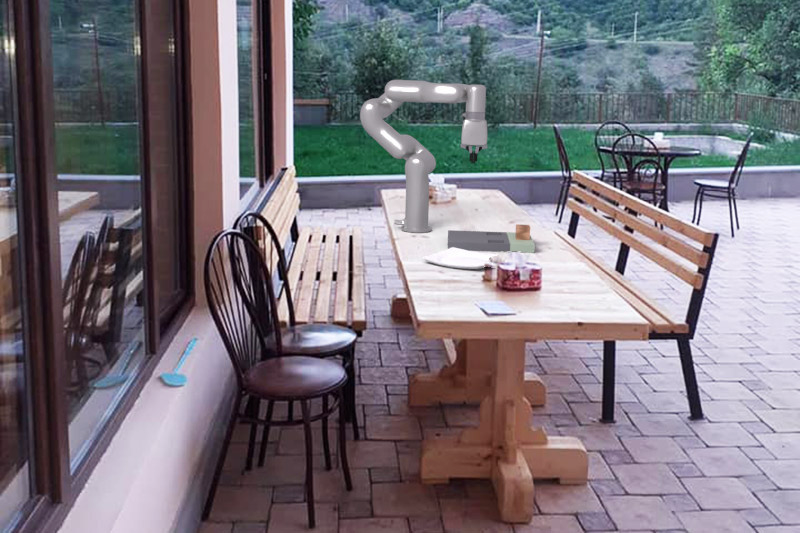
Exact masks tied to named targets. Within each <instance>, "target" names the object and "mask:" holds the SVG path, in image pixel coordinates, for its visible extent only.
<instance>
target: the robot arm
mask: <svg viewBox="0 0 800 533" xmlns="http://www.w3.org/2000/svg"><path fill="white" fill-rule="evenodd" d="M486 93H487V87H486V86H485V85H483V84H464V83H459V82H458V83H457V82H456V83H455V82H454V83H443V82H442V83H439V82H437V83H436V82H429V81H427V80H414V79H413V80H412V79H411V80H409V79H407V80H405V79H392V80H390V81H388V82H387V83H386V85H385V86H384V93H383V94H381V95H380V96H379V97H377V98H371V99H370V98H369V99H368V100H366V101H365V102H363V104H362V106H361V108H360V114H359V117H360V122H361V125H362V127H363V129H364V130H365V132H366V133H367V134H368V135H369V136H370V137H372V139H374V141H376V142H377V143H378V144H379V145H380V146H381V147H382V148H383V149H384V150H385V151H387V153H388V154H389V155H390V156H391V157H393V158H394V159H396V160H402V159H404V160H405V165H404V173H405V212H404V215H405V217H404V219H394V221H393V222H394V225H396V226H397V225H398V226H400V227H401V228H400V230H401V231H403V232H407V233H418V234H419V233H422V234H423V233H428V232H432V230H433V228H432V227H431V226H429V212H430V211H429V210H430V209H429V207H430V203H429V202H430V179H429V174H431V173H432V172H433V171H434V170H435V168H436V166H437V163H436V158H435V156H434V155H433V154H432V153H431V152H430V150H428V149H427V148H426V147H425V146H424V145H422V144H421V143H420V141H418V140H417V139H416V137H415V138H414V137H413V136H411V135H409V134H401V133H399V132H398V131H397V130H396V129H394V128H393V126H391V125H390V124H388V123H387V122H386V121H385V120H384V119H385V118H387V117H389V116H390V115H391V114H393V113H394V112H395V110H398V109H399V107H400V106H401V105H402V104H404V102H406V103H407V102H408V103H438V104H439V103H441V104H458V103H465V112H463V113H461V117H464V118H465V119H463V121H462V128H461V137H460V138H461V140H460V141H461V142H460V148H461V149H465V150H467V151H468V153H469V162H470V163H471V164H476V162H477V161H478V153H479V152H481V151H482V150H486V149H488V121H487V120H486V119H485V117H486V115H485V114H486ZM473 147H475V150H474V151H473Z"/></svg>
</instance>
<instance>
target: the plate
mask: <svg viewBox="0 0 800 533" xmlns="http://www.w3.org/2000/svg"><path fill="white" fill-rule="evenodd" d="M497 255H500V254H496V253H486V252H481V251H468V250H464V249H459V248H455V247H452V248H449V249H448V248H446V249H444V250H442V251H438V252H436V253H433V254H430V255H425V256H422V257H421V259H422V260H424V261H425V262H428V263H431V264H435V265H437V266H442V267H446V268H452V269H458V270H459V269H460V270H471V269H476V270H483V269H484V268H483V267H484V263H486V261H488V260H489V258H490V257H492V256H497ZM482 268H483V269H482Z"/></svg>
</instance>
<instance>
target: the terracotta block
mask: <svg viewBox="0 0 800 533" xmlns="http://www.w3.org/2000/svg"><path fill="white" fill-rule="evenodd" d="M515 233H516V236H515V237H516V240H530V236H531V226H530V224H517V223H516V224H515Z"/></svg>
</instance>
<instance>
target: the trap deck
mask: <svg viewBox="0 0 800 533" xmlns="http://www.w3.org/2000/svg"><path fill="white" fill-rule="evenodd" d="M515 236H516V232H512V231H511V232H509V231H507V232H505V231H504V232H503V231H480V230H479V231H475V230H449V229H448V230H447V249H449V248H452V247H455V248H459V249H464V250H468V251H474V252H495V253H497V252H499V253H500V252H501V251H521V252H520V253H524V252H526V253H528V254H534V253H535V247H536V245H535V243H534V240H533V239H532V236H531V235H530V240H516V237H515ZM501 253H502V252H501Z"/></svg>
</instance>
